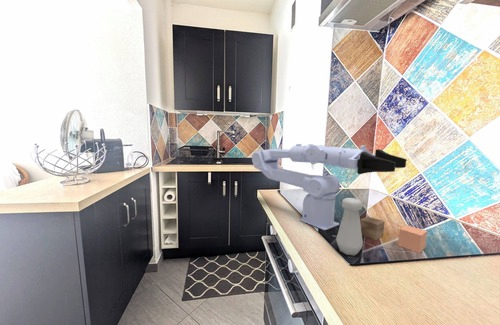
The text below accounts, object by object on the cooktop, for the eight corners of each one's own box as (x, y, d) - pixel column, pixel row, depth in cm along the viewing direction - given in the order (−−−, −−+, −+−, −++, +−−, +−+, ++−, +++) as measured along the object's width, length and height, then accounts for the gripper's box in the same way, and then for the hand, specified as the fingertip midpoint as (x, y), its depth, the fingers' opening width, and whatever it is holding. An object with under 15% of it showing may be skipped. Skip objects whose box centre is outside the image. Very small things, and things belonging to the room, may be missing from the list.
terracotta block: (398, 245, 54) (399, 228, 53) (404, 240, 57) (406, 225, 56) (419, 253, 50) (421, 235, 50) (425, 247, 53) (427, 231, 52)
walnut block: (359, 234, 60) (360, 219, 60) (366, 230, 63) (367, 216, 62) (375, 240, 56) (377, 224, 56) (383, 236, 59) (384, 221, 59)
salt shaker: (365, 259, 47) (369, 203, 46) (338, 256, 48) (342, 201, 47) (357, 246, 53) (361, 196, 51) (333, 243, 54) (336, 195, 53)
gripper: (332, 145, 55) (391, 150, 44) (357, 142, 64) (412, 146, 53) (330, 171, 56) (387, 182, 45) (355, 165, 65) (408, 173, 54)
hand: (400, 165), depth 49 cm, fingers open, 7 cm apart
